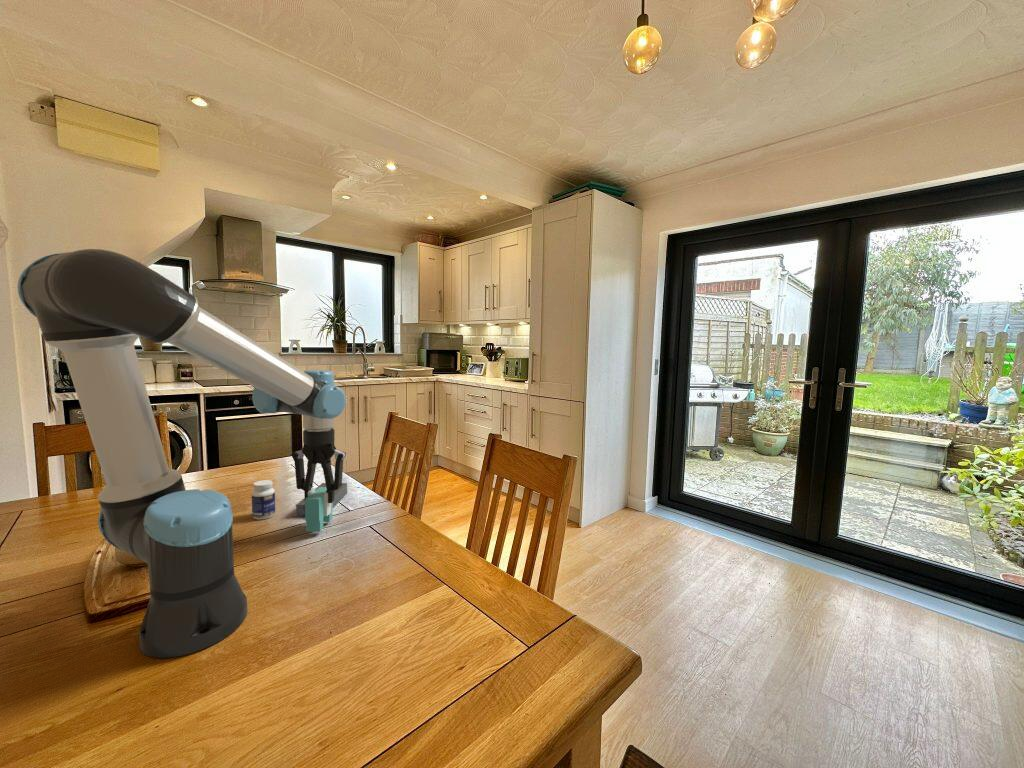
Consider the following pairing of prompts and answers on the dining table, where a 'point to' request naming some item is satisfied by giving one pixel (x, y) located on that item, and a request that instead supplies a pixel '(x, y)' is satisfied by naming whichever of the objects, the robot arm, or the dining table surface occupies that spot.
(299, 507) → the rail
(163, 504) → the robot arm
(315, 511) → the clip
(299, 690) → the dining table surface
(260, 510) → the pill bottle
